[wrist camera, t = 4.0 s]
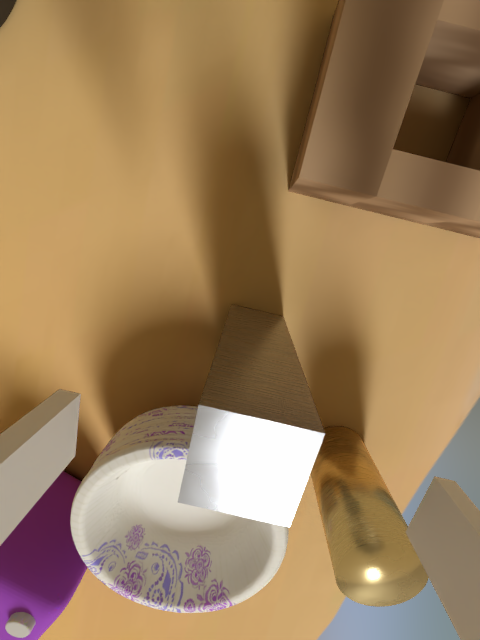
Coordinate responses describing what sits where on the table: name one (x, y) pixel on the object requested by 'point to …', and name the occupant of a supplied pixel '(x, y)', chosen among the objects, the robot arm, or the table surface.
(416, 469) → the table surface
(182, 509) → the paper bowls
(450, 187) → the bore block
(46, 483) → the robot arm
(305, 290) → the table surface
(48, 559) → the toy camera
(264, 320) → the square bit
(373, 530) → the cylinder
